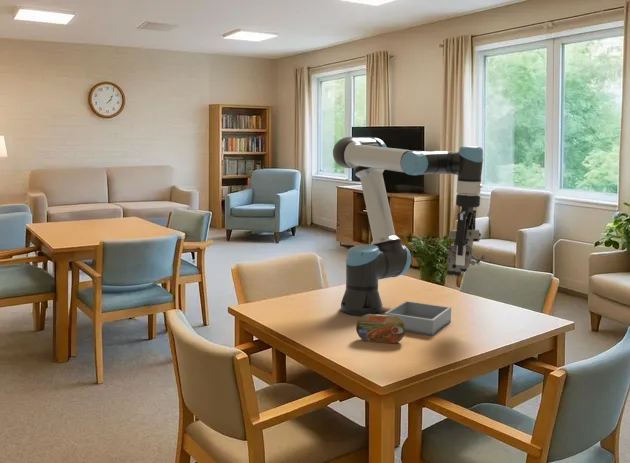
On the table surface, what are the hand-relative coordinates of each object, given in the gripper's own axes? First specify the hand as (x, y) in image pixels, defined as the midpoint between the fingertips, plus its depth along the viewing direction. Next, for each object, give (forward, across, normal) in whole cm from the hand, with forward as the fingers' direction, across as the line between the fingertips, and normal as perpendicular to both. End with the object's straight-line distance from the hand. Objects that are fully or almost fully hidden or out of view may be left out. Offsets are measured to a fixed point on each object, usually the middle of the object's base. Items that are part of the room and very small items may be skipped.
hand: (463, 262), depth 208 cm
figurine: (+4, 0, 0) cm, 4 cm away
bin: (+22, -6, +13) cm, 26 cm away
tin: (+22, -28, +17) cm, 40 cm away
